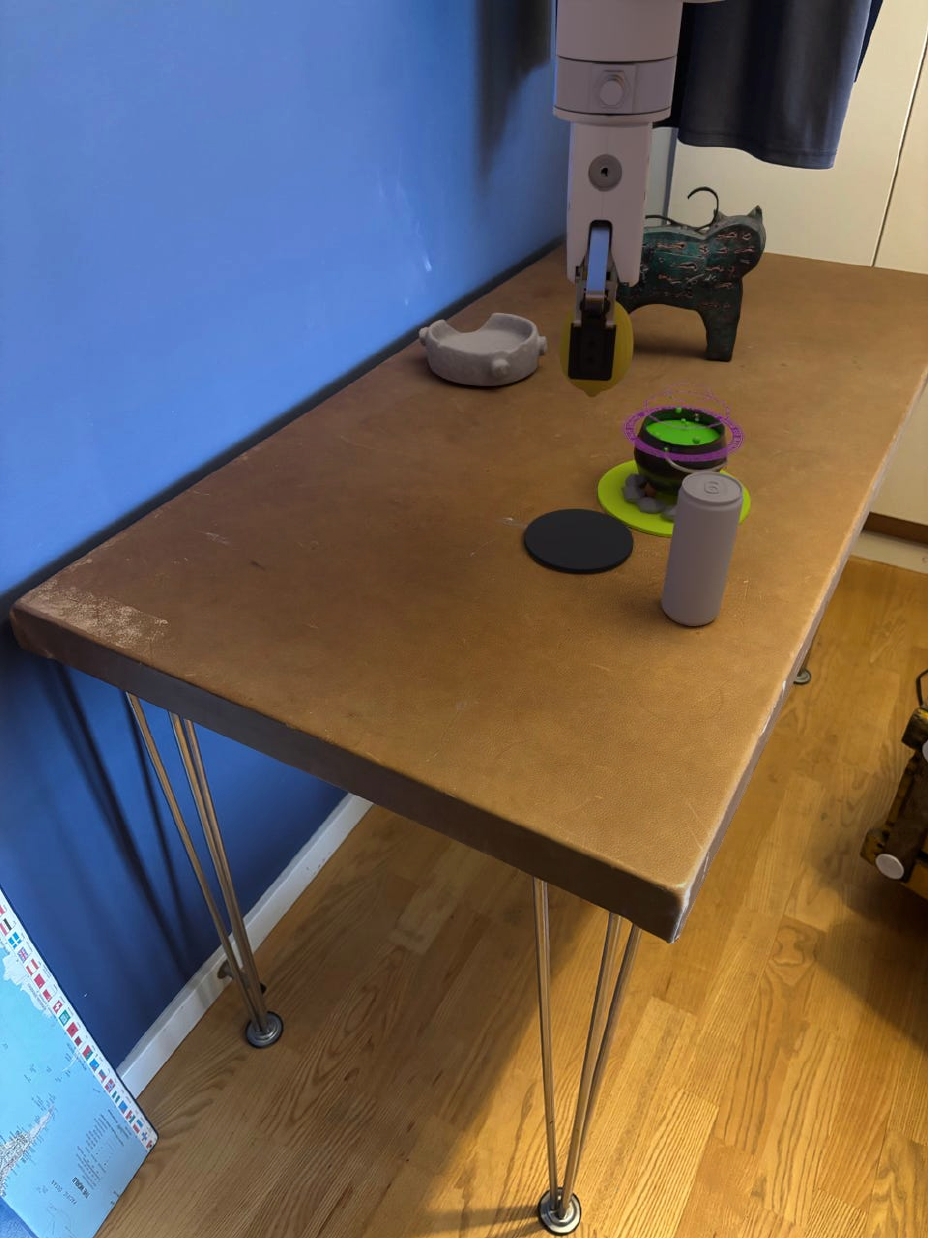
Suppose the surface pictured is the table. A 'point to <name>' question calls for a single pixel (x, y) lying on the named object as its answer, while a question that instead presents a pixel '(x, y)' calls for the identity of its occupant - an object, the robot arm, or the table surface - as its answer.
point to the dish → (484, 350)
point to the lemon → (621, 352)
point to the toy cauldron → (666, 464)
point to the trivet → (578, 541)
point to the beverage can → (701, 547)
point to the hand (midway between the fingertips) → (591, 358)
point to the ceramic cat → (699, 271)
